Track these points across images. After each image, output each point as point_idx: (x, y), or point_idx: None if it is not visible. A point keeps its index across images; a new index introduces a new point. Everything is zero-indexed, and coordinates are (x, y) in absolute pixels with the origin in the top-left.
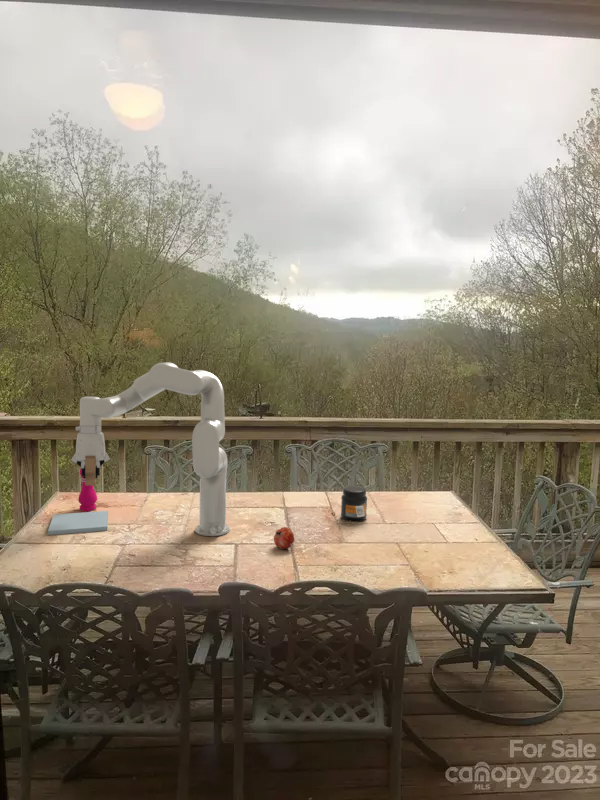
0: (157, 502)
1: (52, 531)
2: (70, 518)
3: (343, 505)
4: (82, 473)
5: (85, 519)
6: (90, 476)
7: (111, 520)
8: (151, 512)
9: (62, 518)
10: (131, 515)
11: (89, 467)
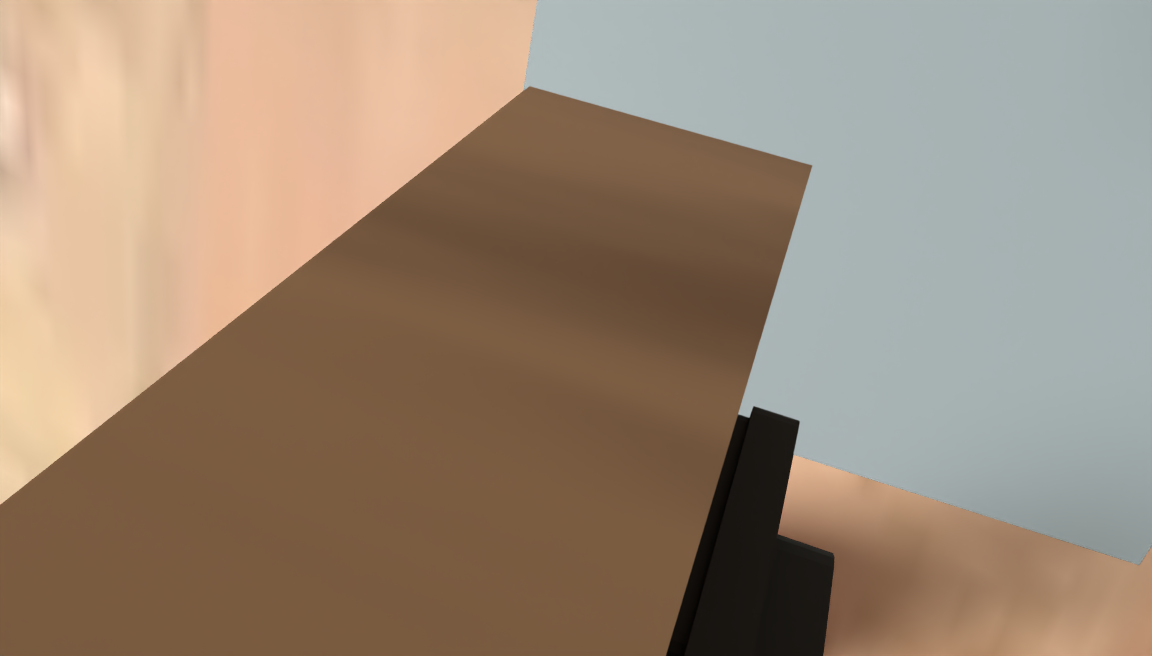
0: (12, 446)
1: None
2: (1002, 290)
3: None
4: (804, 595)
5: (824, 141)
6: (582, 234)
7: (494, 80)
8: (50, 157)
9: (1103, 347)
10: (256, 160)
11: (478, 451)
